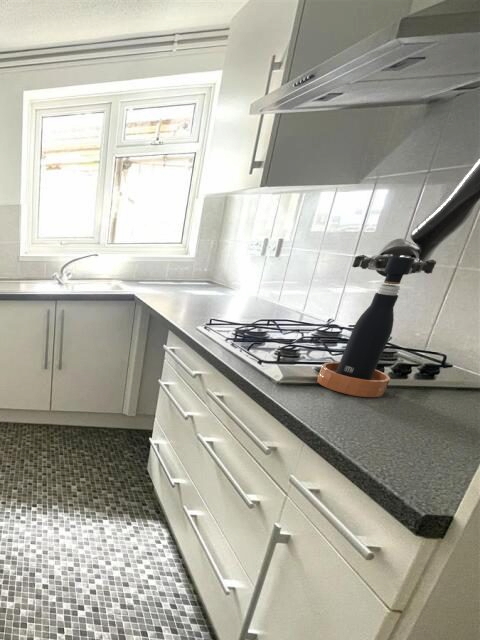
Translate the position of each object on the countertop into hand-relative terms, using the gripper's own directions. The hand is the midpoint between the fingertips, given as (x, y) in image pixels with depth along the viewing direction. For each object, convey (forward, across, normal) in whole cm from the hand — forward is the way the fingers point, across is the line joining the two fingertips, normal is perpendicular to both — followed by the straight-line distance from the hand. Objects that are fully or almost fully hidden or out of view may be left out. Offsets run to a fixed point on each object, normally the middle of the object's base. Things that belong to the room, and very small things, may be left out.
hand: (389, 266), depth 97 cm
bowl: (+10, +2, +28) cm, 30 cm away
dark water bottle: (+10, +2, +27) cm, 29 cm away
